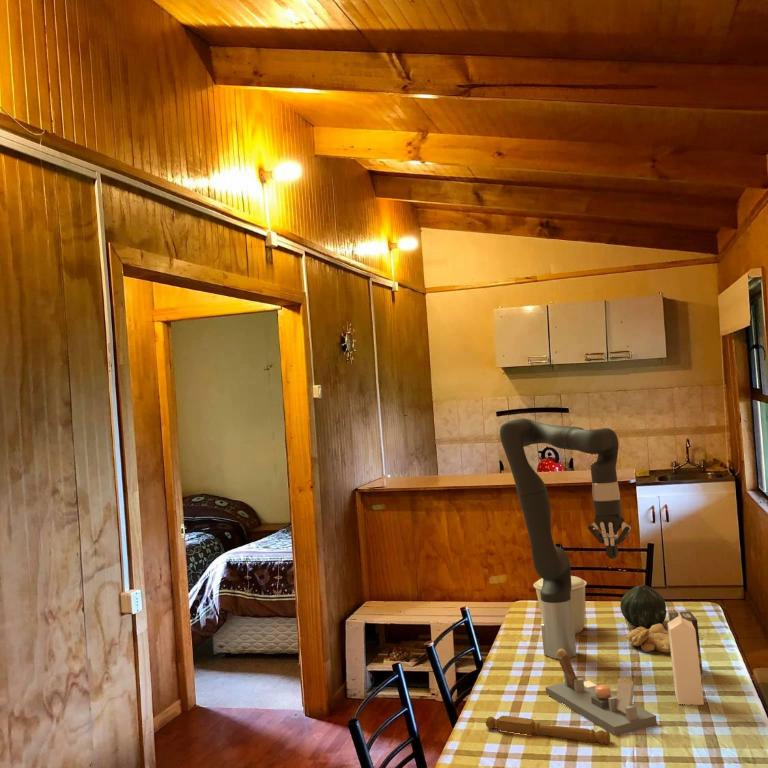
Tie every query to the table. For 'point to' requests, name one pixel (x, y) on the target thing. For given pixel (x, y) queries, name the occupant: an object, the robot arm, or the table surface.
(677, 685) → the milk
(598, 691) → the terracotta button
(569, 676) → the walnut lever
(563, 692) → the control panel
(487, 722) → the turned wooden table leg
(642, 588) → the squash
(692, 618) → the coffee box
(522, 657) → the table surface
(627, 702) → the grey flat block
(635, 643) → the ginger root
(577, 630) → the canister
